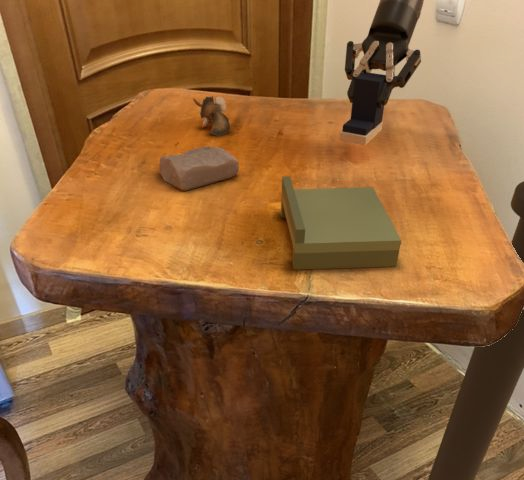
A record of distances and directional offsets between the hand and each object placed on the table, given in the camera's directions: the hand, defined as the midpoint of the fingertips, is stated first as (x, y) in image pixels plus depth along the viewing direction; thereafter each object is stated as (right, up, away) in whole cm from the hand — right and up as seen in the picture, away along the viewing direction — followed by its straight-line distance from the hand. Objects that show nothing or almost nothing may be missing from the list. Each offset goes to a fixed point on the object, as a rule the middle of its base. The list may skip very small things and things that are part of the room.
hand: (365, 102), depth 99 cm
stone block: (-30, -14, -2) cm, 33 cm away
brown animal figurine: (-29, +1, +15) cm, 32 cm away
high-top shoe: (0, -4, +3) cm, 6 cm away
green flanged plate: (-8, -28, -18) cm, 34 cm away
